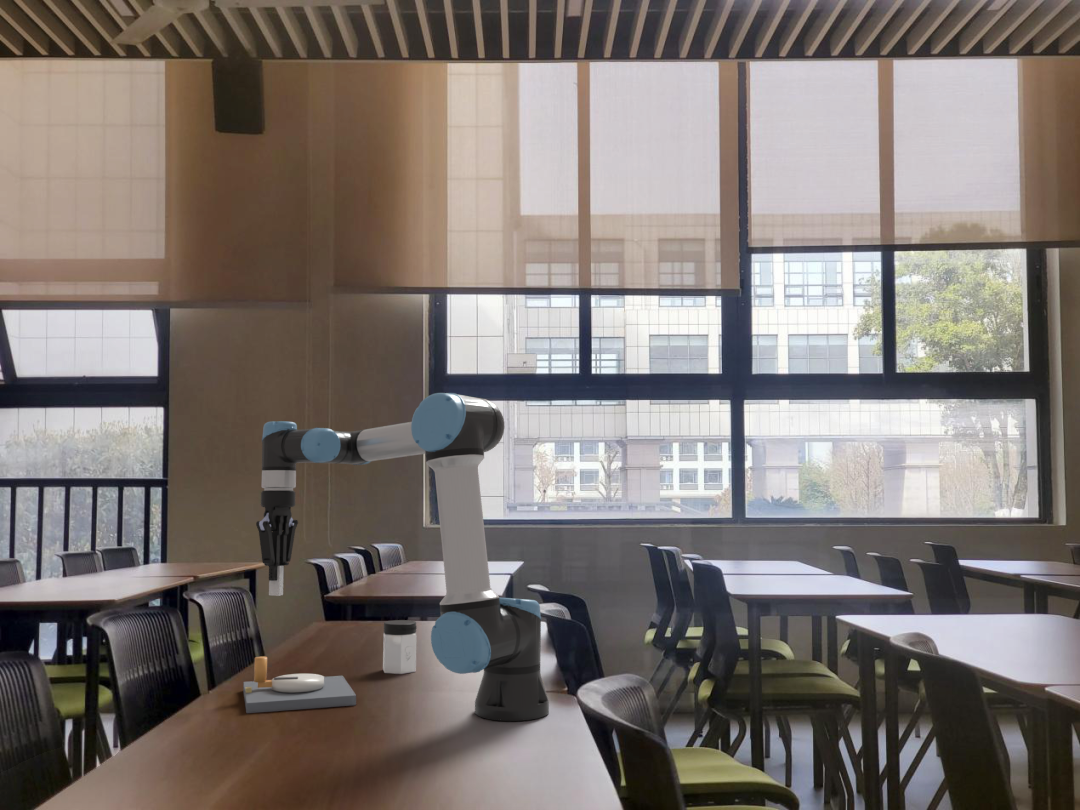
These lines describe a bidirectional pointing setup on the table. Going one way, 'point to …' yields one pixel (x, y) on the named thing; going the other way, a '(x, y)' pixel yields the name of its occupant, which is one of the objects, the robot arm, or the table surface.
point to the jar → (399, 647)
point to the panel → (298, 697)
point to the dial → (286, 679)
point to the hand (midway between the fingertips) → (275, 595)
